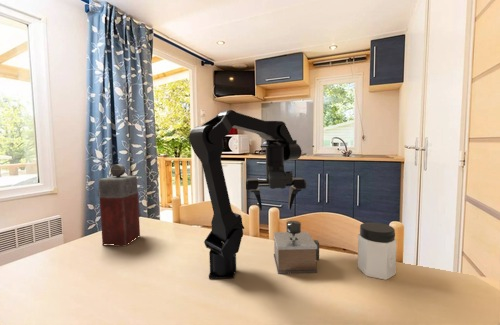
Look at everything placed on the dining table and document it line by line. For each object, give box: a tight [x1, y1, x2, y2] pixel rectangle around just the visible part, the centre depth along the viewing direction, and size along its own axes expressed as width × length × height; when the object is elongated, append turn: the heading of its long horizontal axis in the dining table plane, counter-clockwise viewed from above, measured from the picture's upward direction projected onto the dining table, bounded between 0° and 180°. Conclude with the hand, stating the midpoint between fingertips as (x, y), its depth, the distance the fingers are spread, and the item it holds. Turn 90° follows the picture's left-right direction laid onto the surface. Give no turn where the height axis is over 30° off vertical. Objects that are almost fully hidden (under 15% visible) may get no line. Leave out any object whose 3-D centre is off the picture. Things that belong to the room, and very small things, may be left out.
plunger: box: [285, 220, 302, 240], centre depth 69 cm, size 8×8×11 cm
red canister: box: [98, 163, 141, 246], centre depth 89 cm, size 9×11×28 cm
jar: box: [357, 221, 397, 281], centre depth 64 cm, size 9×8×12 cm
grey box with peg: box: [273, 231, 320, 274], centre depth 70 cm, size 12×10×7 cm
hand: (275, 209), depth 79 cm, fingers open, 9 cm apart
